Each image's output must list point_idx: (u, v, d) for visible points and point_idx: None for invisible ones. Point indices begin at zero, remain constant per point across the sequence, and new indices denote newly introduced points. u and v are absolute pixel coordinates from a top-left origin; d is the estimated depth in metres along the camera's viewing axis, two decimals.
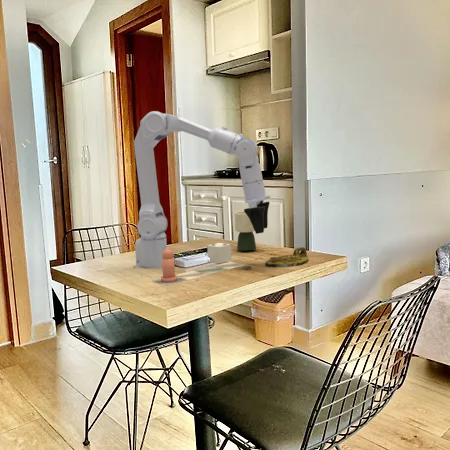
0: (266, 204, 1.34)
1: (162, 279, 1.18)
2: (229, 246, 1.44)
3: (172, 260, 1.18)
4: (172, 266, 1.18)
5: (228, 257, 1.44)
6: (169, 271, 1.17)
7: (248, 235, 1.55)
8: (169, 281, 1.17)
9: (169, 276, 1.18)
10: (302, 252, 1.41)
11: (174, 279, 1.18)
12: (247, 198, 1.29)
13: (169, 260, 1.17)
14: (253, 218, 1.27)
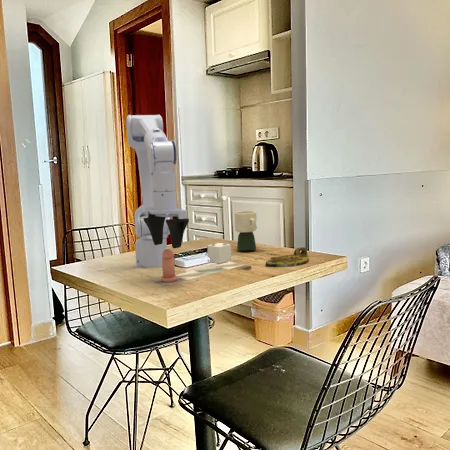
0: None
1: (162, 279, 1.18)
2: (229, 246, 1.44)
3: (172, 260, 1.18)
4: (172, 266, 1.18)
5: (228, 257, 1.44)
6: (169, 271, 1.17)
7: (248, 235, 1.55)
8: (169, 281, 1.17)
9: (169, 276, 1.18)
10: (303, 252, 1.40)
11: (174, 279, 1.18)
12: None
13: (169, 260, 1.17)
14: None
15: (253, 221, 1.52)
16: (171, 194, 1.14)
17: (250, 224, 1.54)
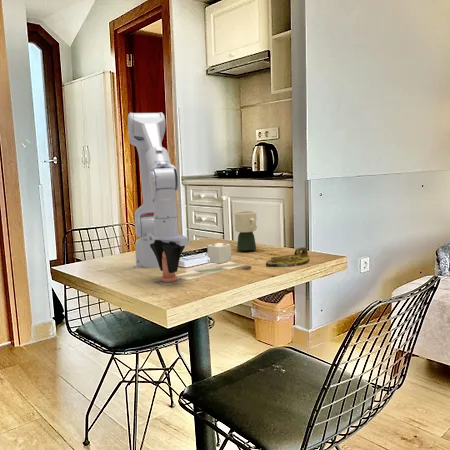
0: None
1: (162, 279, 1.18)
2: (229, 246, 1.44)
3: None
4: None
5: (228, 257, 1.44)
6: None
7: (248, 235, 1.55)
8: (169, 281, 1.17)
9: (169, 276, 1.18)
10: (303, 252, 1.40)
11: (174, 279, 1.18)
12: None
13: None
14: None
15: (253, 221, 1.52)
16: (172, 221, 1.15)
17: (250, 224, 1.54)
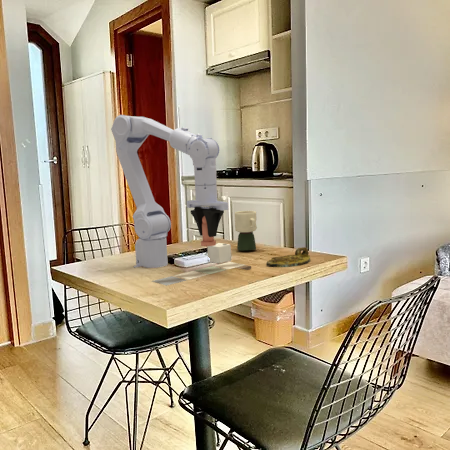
0: None
1: (202, 243, 1.26)
2: (229, 246, 1.44)
3: None
4: None
5: (228, 257, 1.44)
6: None
7: (248, 235, 1.55)
8: (209, 245, 1.25)
9: (209, 240, 1.26)
10: (304, 252, 1.40)
11: (213, 243, 1.26)
12: None
13: None
14: None
15: (253, 221, 1.52)
16: (213, 187, 1.23)
17: (250, 224, 1.54)
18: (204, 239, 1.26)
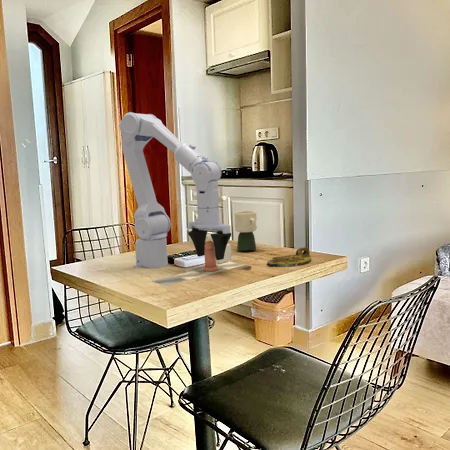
0: None
1: (205, 268, 1.27)
2: (229, 246, 1.44)
3: (214, 251, 1.27)
4: (214, 256, 1.27)
5: (228, 257, 1.44)
6: (211, 261, 1.27)
7: (248, 235, 1.55)
8: (211, 270, 1.27)
9: (211, 266, 1.27)
10: (305, 252, 1.40)
11: (216, 268, 1.27)
12: None
13: (211, 251, 1.27)
14: None
15: (253, 221, 1.52)
16: (215, 210, 1.24)
17: (250, 224, 1.54)
18: (206, 265, 1.27)
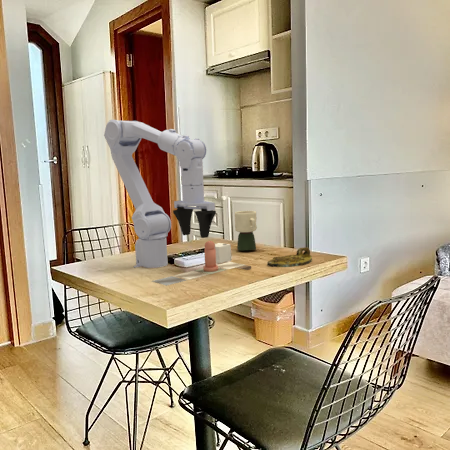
0: None
1: (205, 268, 1.27)
2: (229, 246, 1.44)
3: (214, 251, 1.27)
4: (214, 256, 1.27)
5: (228, 257, 1.44)
6: (211, 261, 1.27)
7: (248, 235, 1.55)
8: (211, 270, 1.27)
9: (211, 266, 1.27)
10: (305, 252, 1.40)
11: (216, 268, 1.27)
12: None
13: (211, 251, 1.27)
14: None
15: (253, 221, 1.52)
16: (199, 188, 1.24)
17: (250, 224, 1.54)
18: (206, 265, 1.27)
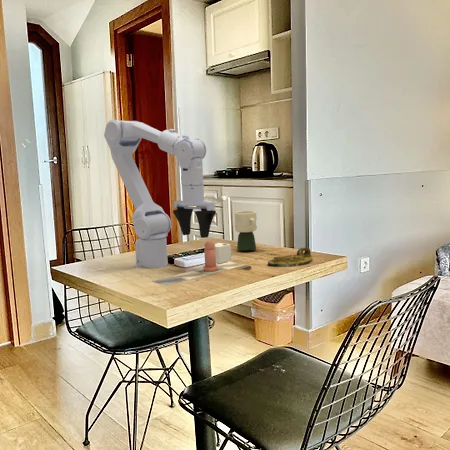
0: None
1: (204, 268, 1.27)
2: (229, 246, 1.44)
3: (214, 251, 1.27)
4: (214, 256, 1.27)
5: (228, 257, 1.44)
6: (211, 261, 1.27)
7: (248, 235, 1.55)
8: (211, 270, 1.27)
9: (211, 266, 1.27)
10: (306, 252, 1.40)
11: (216, 268, 1.27)
12: None
13: (211, 251, 1.27)
14: None
15: (253, 221, 1.52)
16: (199, 188, 1.24)
17: (250, 224, 1.54)
18: (206, 265, 1.27)
